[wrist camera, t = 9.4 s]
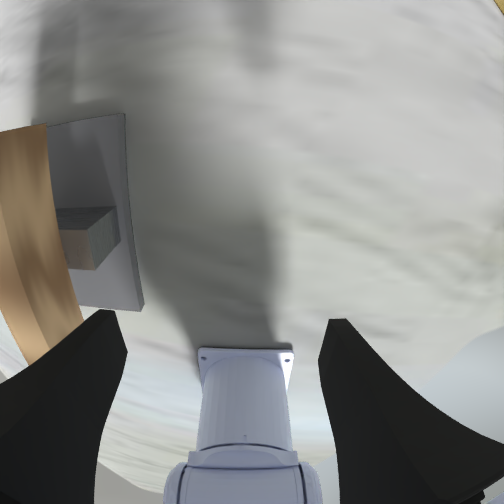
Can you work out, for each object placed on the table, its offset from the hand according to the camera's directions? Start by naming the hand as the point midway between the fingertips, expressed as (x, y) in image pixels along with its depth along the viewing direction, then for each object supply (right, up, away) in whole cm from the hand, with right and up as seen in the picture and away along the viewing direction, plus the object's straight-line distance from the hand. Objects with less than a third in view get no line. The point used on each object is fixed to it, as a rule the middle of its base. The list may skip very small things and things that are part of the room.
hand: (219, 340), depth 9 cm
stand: (-11, +5, +9) cm, 15 cm away
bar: (-11, +3, +4) cm, 12 cm away
